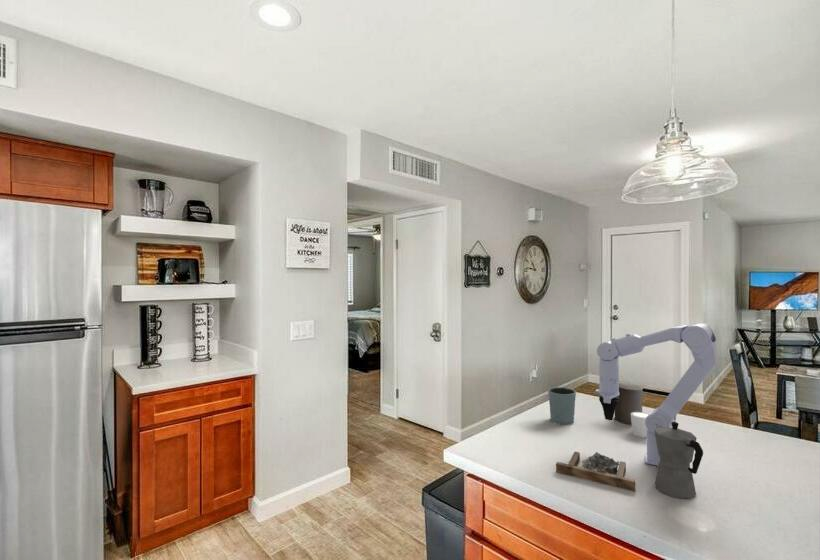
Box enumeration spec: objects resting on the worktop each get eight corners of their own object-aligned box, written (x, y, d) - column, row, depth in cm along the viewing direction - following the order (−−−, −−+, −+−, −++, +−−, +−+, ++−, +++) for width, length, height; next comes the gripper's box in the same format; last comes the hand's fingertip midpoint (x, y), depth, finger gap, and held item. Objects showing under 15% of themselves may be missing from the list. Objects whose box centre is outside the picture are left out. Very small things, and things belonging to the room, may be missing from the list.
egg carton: (604, 484, 111) (604, 469, 111) (578, 474, 117) (578, 459, 117) (622, 472, 118) (622, 458, 118) (596, 462, 124) (596, 449, 124)
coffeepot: (641, 478, 114) (641, 414, 113) (672, 476, 115) (672, 413, 114) (683, 510, 98) (683, 435, 98) (719, 507, 99) (719, 434, 99)
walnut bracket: (637, 473, 117) (637, 464, 117) (635, 491, 107) (635, 482, 107) (564, 457, 127) (564, 449, 127) (556, 472, 117) (555, 463, 117)
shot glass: (656, 438, 142) (656, 418, 142) (636, 437, 142) (636, 417, 142) (645, 430, 149) (645, 411, 149) (626, 430, 149) (626, 411, 149)
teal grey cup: (578, 419, 161) (578, 389, 161) (573, 427, 152) (573, 395, 152) (551, 415, 166) (551, 385, 166) (545, 422, 158) (545, 391, 157)
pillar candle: (611, 421, 158) (612, 383, 158) (616, 414, 166) (617, 378, 166) (640, 427, 153) (640, 387, 152) (644, 419, 160) (644, 382, 160)
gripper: (598, 372, 142) (598, 411, 142) (593, 381, 130) (593, 424, 130) (620, 374, 139) (620, 414, 139) (617, 384, 126) (617, 428, 126)
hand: (609, 419), depth 134 cm, fingers closed
